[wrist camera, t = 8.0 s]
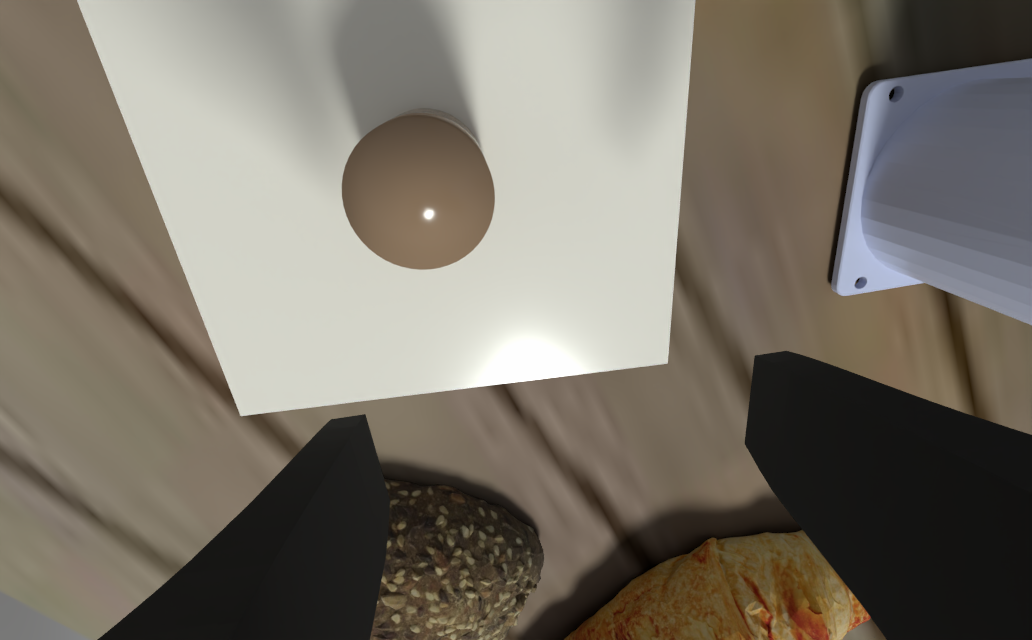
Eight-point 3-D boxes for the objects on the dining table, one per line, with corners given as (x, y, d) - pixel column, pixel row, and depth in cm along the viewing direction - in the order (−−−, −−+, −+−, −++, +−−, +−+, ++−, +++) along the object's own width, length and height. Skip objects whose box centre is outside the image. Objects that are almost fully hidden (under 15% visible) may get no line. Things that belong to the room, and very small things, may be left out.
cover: (650, -135, 14) (832, -338, 7) (633, 318, 20) (722, 434, 13) (121, -109, 13) (-239, -316, 6) (277, 359, 19) (182, 506, 12)
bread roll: (571, 532, 25) (597, 626, 21) (437, 667, 29) (434, 774, 24) (347, 422, 21) (317, 510, 16) (219, 596, 24) (165, 710, 20)
